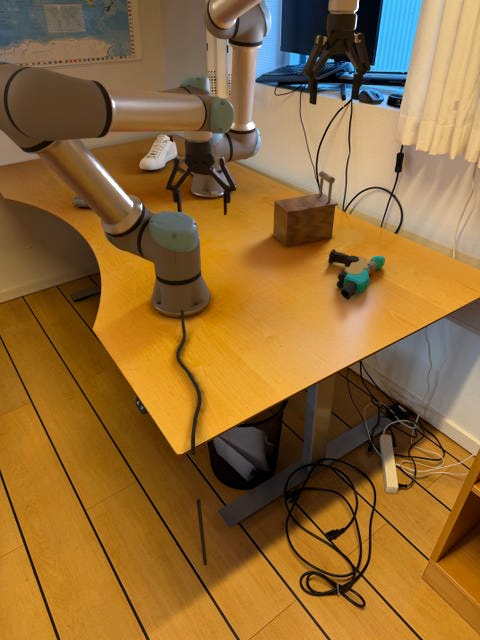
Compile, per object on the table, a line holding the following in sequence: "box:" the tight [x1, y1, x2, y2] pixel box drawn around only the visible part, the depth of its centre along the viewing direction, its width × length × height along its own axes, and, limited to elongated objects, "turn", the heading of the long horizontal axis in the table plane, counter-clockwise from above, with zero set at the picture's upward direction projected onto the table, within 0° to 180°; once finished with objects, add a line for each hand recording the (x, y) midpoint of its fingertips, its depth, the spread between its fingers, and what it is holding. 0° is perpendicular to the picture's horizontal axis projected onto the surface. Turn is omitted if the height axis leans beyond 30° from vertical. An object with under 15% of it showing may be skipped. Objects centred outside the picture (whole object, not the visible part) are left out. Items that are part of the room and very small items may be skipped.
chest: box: [272, 203, 336, 248], centre depth 153 cm, size 17×10×11 cm, turn 112°
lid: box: [273, 170, 339, 215], centre depth 148 cm, size 18×10×9 cm, turn 112°
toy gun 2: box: [328, 248, 386, 301], centre depth 133 cm, size 4×26×15 cm
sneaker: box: [139, 133, 178, 171], centre depth 214 cm, size 10×29×12 cm, turn 163°
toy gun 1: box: [71, 195, 90, 208], centre depth 180 cm, size 4×19×15 cm
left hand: (202, 212), depth 141 cm, fingers open, 13 cm apart
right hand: (333, 101), depth 135 cm, fingers open, 13 cm apart
